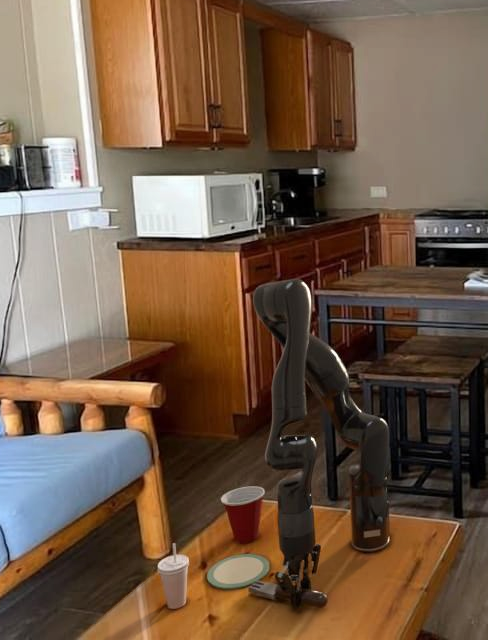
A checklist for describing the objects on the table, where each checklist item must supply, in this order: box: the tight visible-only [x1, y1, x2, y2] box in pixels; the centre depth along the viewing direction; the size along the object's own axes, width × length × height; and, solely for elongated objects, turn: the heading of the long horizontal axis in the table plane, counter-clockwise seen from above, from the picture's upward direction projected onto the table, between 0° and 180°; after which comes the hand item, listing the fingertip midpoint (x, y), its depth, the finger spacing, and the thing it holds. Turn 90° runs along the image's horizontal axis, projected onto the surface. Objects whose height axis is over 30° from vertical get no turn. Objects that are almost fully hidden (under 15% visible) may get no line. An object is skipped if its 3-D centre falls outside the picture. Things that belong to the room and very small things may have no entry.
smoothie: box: [157, 542, 190, 610], centre depth 150 cm, size 6×6×14 cm
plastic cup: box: [220, 485, 266, 544], centre depth 177 cm, size 11×11×12 cm
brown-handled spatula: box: [247, 580, 329, 609], centre depth 150 cm, size 20×3×3 cm, turn 66°
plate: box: [206, 553, 270, 590], centre depth 163 cm, size 14×14×1 cm
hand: (301, 601), depth 149 cm, fingers closed on brown-handled spatula, 3 cm apart
